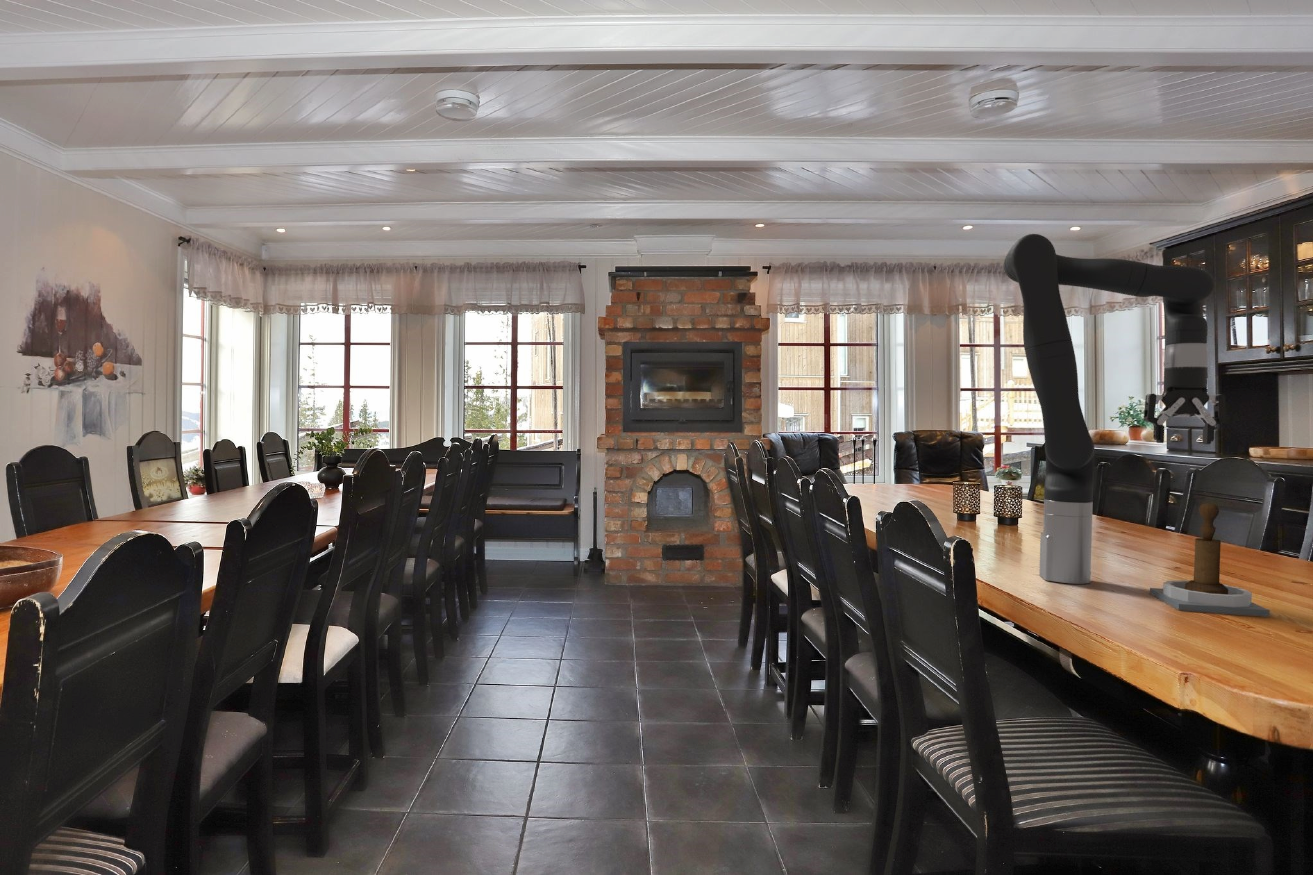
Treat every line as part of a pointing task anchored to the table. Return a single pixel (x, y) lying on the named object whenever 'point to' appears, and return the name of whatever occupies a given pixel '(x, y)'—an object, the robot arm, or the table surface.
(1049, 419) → the robot arm
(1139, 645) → the table surface
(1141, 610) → the table surface
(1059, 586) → the table surface
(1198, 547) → the brown tall stepped piece
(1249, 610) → the ring board
